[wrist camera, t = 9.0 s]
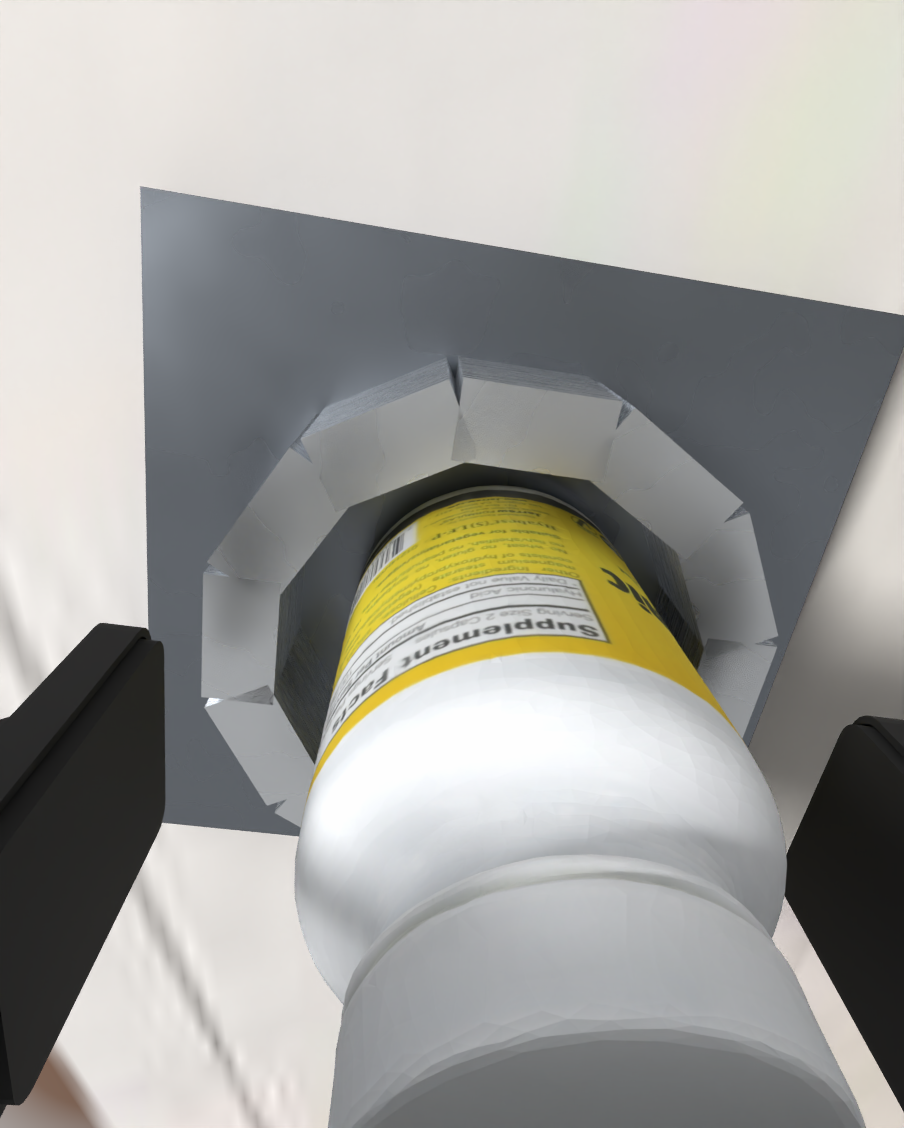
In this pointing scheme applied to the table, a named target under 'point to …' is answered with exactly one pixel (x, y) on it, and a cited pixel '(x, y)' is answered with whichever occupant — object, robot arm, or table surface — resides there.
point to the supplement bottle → (544, 851)
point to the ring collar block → (459, 455)
